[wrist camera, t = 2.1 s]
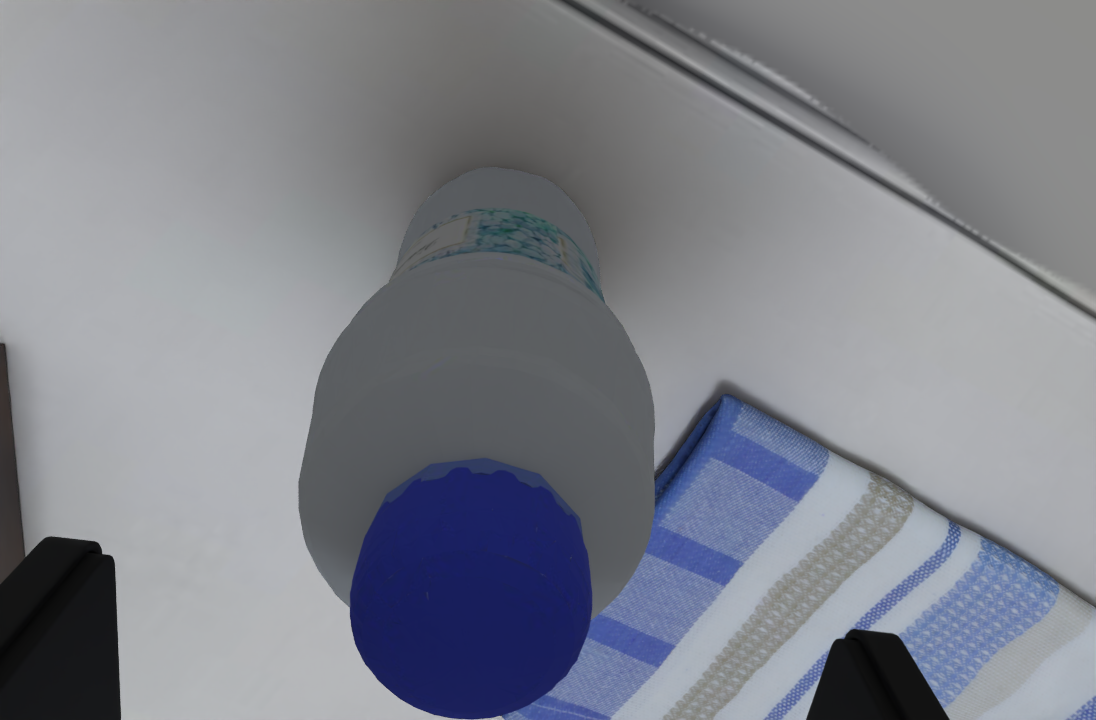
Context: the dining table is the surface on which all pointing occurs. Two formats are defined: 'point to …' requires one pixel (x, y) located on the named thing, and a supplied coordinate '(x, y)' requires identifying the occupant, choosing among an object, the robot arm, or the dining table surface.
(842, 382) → the dining table surface
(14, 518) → the shelf
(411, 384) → the bottle
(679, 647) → the dish towel
